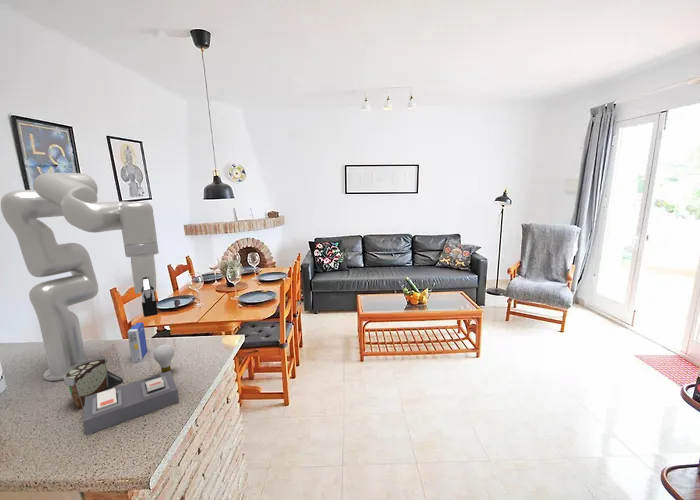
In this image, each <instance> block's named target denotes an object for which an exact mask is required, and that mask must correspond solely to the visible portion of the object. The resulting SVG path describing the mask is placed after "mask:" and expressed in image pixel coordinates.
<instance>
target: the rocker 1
mask: <svg viewBox="0 0 700 500" xmlns="http://www.w3.org/2000/svg"><path fill="white" fill-rule="evenodd" d="M115 388H116V387H113V388H111V389H110V390H106V391H103V392H100V393H97V408H98V411H99V410H102V409H105V408H108V407H111V406H114V405H117V398H116V389H115Z"/></svg>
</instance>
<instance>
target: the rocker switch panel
mask: <svg viewBox="0 0 700 500" xmlns="http://www.w3.org/2000/svg"><path fill="white" fill-rule="evenodd" d="M160 377H162V380H163V382H164V387H161V388H158V389H155V390H152V391H149V392H148V391H147V387H146V382H147V381H150V380H153V379H157V378H160ZM114 388H115V389H116V398H117V405H114V406H111V407H108V408H105V409H102V410H99V411H98V408H97V393H96V394H93V395H90V396H86V397H85V404H84V408H83V420H82V421H83V426H84V432H85V436H88V435H91V434H94V433H96V432H100V431H103V430H105V429H107V428H111V427H113V426H116V425H118V424H122V423H124V422H127V421H130V420H132V419H135V418H139V417H140V416H141V417H142V416H144V415H146V414H149V413H153V412H154V411H158V410H161V409H163V408H165V407H169V406H171V405H174V404H177V403H180V398H179V391H178V390H179V389H178V387H177V384H176V381H175V379H174V376H173V373H172V371H171V370H170V371H168V372H165V373H162V372H161V373H159V374H155V375H152V376H149V377H147V378H146V377H145V378H143V379H138V380H135V381H133V382H129V383H126V384H123V385H120V386H119V385H118V386H115V387H114ZM108 389H109V388H108ZM109 390H110V389H109ZM99 393H100V392H99Z"/></svg>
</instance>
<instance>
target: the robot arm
mask: <svg viewBox="0 0 700 500" xmlns="http://www.w3.org/2000/svg"><path fill="white" fill-rule="evenodd" d="M32 183H33V184H32V185H33V186H32V188H33V189H21V190H20V189H19V190H14V191H13V190H12V191H10V192H7V193H5V194H4V195H3V196H2V198H1V201H0V211H1V214H2V216H3V219H5V220H4V221H5V222H6V223H7V225H8V226H9V228H10V229H11V230H12V232H13V233H14V235H15V237H16V239H17V242H18V246H19V248H20V251H21V254H22V258H23V261H24V264H25V266H26V268H27V271H28V273H29V274H30V275H31V276H33V277H35V278H45V277H46V278H47V277H51V276H56V275H61V274H65V273H71V275H68V276H64V277H60V278H59V277H58V278H55V279H50V280H45V281H42V282H40V283H38V284H36V285H34V286H33V287H31V289H30V291H29V293H28V297H29V301H30V303H31V305H32V308H33V309H34V311H35V314H36V317H37V320H38V324H39V329H40V333H41V338H42V342H43V343H42V344H43V347H44V351H45V356H46V360H47V361H46V362H47V365H48V368H47V369H45V371H44V373H43V379H44V380H46V381H49V382H54V381H64V376H65V373H66V371H67V370H68V369H69V368H71V367H72V366H74V365H76V364H78V363H80V362H83V361H86V360H89V359H90V358H88V357H86V351H85V347H84V341H83V337H82V336H83V335H82V330H81V324H80V319H79V317H78V315H77V314H76V313H74V312H73V311H71V310H70V309H69V308H68V307H71V306H74V305H76V304H79V303H82V302H86V301H89V300H92V299H94V298H95V297H97V295H98V293H99V284H98V279H97V276H96V272H95V270H94V267H93V262H92V259H91V256H90V254H89V252H88V250H87V249H86V248H85V247H84V246H83V245H82V244H80V243H77V242H66V243H62V244H61V243H60V244H58V243H57V241H56V240H57V239H56V237H55V233H54V230H53V229H51V227H49V226H48V225H47V224H46V223H45V222H44V221H41V220H40V219H41V218H42V219H43V218H54V217H64V219H65V221H66V222H67V223H69V224H70V225H71V226H73V227H75V228H76V229H79V230H82V231H85V232H88V233H102V232H110V231H111V232H112V231H120V230H121V234H122V235H121V236H122V240H123V247H124V248H123V249H124V254H125V258H130V265H131V267H130V268H131V272H132V273H131V274H132V279H133V288H134V293H135V295H139V294H141V301H142V302H141V306H142V308H141V309H142V314H143V317H144V318H148V317H152V316H153V317H154V316H157V315H158V314H159V312H158V305H157V297H156V291H157V268H156V262H155V261H156V260H155V255H158V254H159V253H160V252H159V245H158V238H157V237H158V236H157V231H156V230H157V229H156V223H155V222H156V221H155V215H154V209H153V206H152V205H151V204H150V203H149V202H142V201H141V202H136V201H135V202H133V201H125V200H124V201H104V202H103V201H102V202H101V201H100V202H99V201H98V195H97V194H98V190H99V189H98V185H97V183H96V180H94V179H93V178H92V177H91V176H89V175H88V174H85V173H81V172H46V173H41V174H40V175H38V176H37V177H35V179H34V180H33V182H32Z"/></svg>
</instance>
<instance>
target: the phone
mask: <svg viewBox="0 0 700 500" xmlns="http://www.w3.org/2000/svg"><path fill="white" fill-rule="evenodd" d="M107 379H108V387H106V388H104V389H103V391H106V390H109V389H113V388H116V387H118V386H119V385H121V384H123V382H124V380H123V379H124V378H122V377H120V376H118V375H116V374H114V373H112V372H110V371H109V370H107Z"/></svg>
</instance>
